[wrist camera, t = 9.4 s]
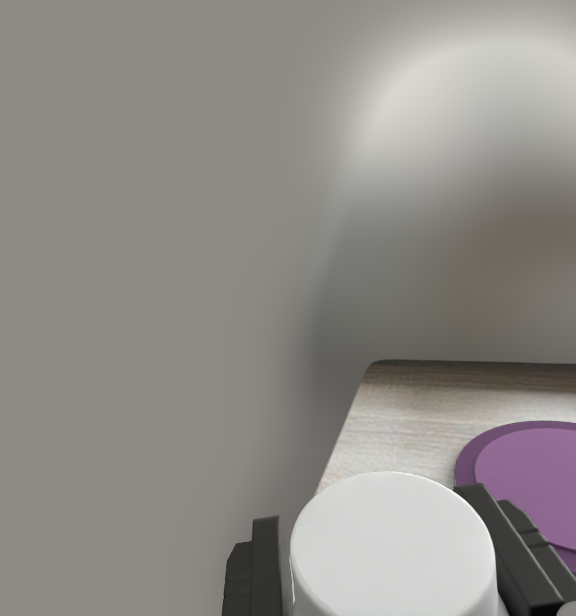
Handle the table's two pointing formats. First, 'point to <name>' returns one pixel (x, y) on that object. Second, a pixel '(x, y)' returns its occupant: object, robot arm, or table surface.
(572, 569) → the plum dish
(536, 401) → the table surface
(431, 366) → the table surface
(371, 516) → the supplement bottle
